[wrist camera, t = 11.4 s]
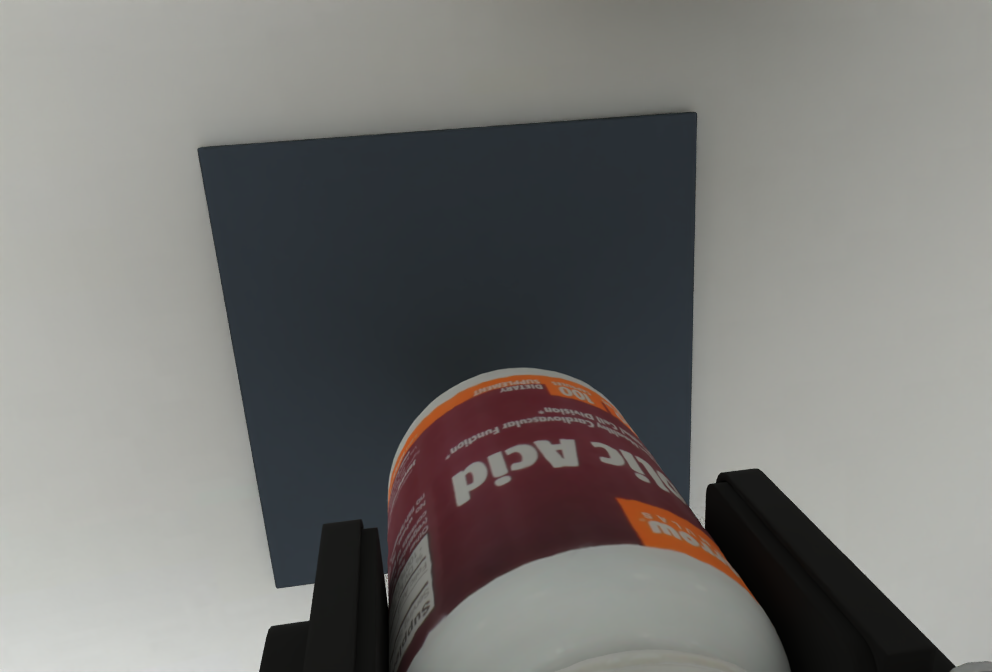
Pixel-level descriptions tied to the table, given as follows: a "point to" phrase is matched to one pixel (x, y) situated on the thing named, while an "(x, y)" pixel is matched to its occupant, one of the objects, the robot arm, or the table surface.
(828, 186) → the table surface
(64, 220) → the table surface
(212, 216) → the mat
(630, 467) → the pill bottle
